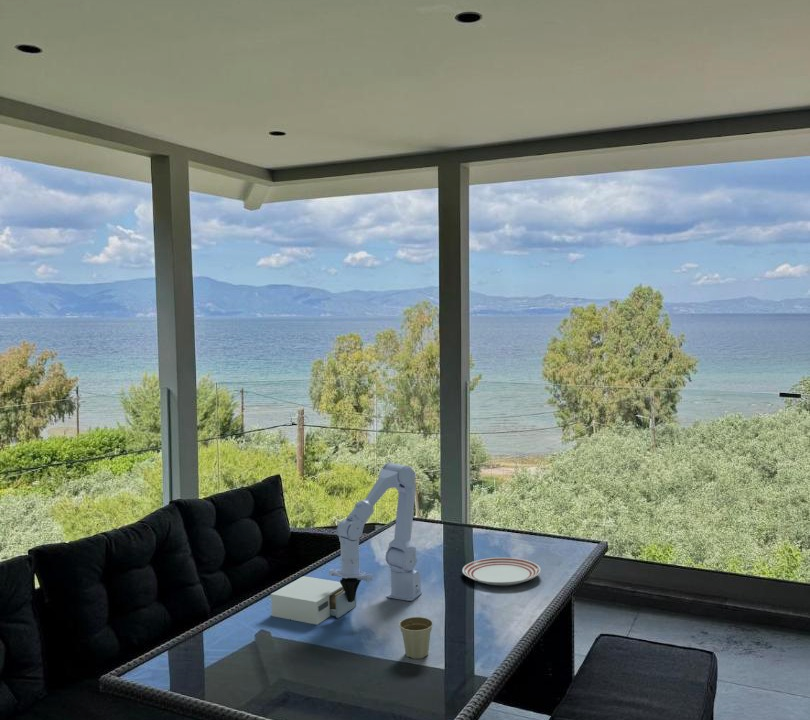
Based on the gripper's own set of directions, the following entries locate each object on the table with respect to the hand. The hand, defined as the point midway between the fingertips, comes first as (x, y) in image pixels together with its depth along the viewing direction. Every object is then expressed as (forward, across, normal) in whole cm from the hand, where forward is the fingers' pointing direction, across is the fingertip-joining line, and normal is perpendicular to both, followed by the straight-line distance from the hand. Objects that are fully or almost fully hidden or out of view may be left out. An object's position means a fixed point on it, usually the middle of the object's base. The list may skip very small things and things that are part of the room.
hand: (351, 600), depth 242 cm
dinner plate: (+4, +32, +50) cm, 59 cm away
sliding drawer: (+4, -8, 0) cm, 8 cm away
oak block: (+3, -7, +1) cm, 7 cm away
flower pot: (+4, +32, -18) cm, 37 cm away
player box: (+4, -13, -3) cm, 14 cm away
